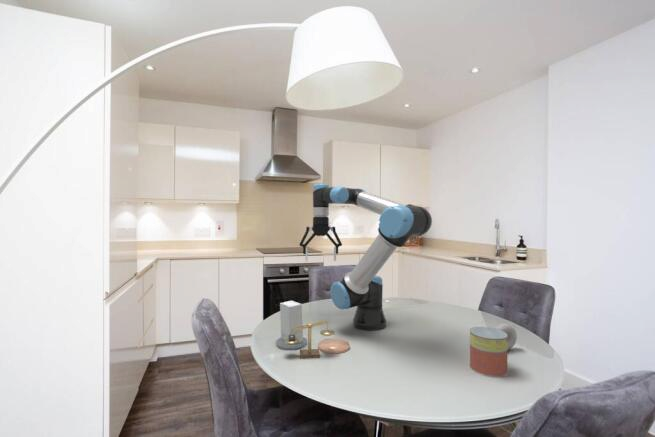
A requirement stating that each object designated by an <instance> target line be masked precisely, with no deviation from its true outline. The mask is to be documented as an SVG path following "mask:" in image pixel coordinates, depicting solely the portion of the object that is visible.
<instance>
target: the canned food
mask: <svg viewBox="0 0 655 437" xmlns="http://www.w3.org/2000/svg"><path fill="white" fill-rule="evenodd" d="M508 351H509V350H508V334H507V333H505V332H504V331H501V330H498V329H495V328H492V327H487V326H475V327H472V328H470V329H469V368H470V369H471V370H472V371H474V372H475V373H476V374H480V375H483V376H485V377H490V378H503V377H505V376H507V375H508V373H509V370H508Z"/></svg>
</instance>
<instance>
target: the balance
mask: <svg viewBox="0 0 655 437" xmlns="http://www.w3.org/2000/svg"><path fill="white" fill-rule="evenodd" d="M328 323H329V322H328V320H327V319H326V320H322V321H318V322H314V323H311V322H309V323H307V324H306V325H302V326H301V327H296V328H292V330H291V334H290V335H289V336H288V339H286V340H285V343H286V344H290V345H293V344H297V343H299V340H298V339H297V338H295V335H294V334H292V332H293V331H297V330H301V329H303V330H305V329H307V349H304V348H301V349H299V359H300V360H302V359H304V360H305V359H320V358H321V356H320V355H321V354H320V350H319V349H318V348H312V328H313V327H317V326H321V325H325V324H326V329H322V330H320V331H319V333H320V335H322V336H325V337H326V336H327V337H328V336H329V337H330V336H333V335H335V331H334V330H332V329H328V328H329V327H328V326H329V324H328Z"/></svg>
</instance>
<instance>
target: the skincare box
mask: <svg viewBox="0 0 655 437" xmlns="http://www.w3.org/2000/svg"><path fill="white" fill-rule="evenodd" d="M302 308H303V304H302V303H300V302H296V301H294V300H288V301H283V302H280V303H279V313H280V317H279V318H280V338H281V339H282V340H283V341H285V340H286V339H288V336H289V335H290V334H291V330H292V328H296V327H301V326H303V309H302ZM303 332H304V329H301V330H297V331H293V332H292V334H294V335H295V338H297V339H298V340H299V343H302V342H303V337H304V333H303Z"/></svg>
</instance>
